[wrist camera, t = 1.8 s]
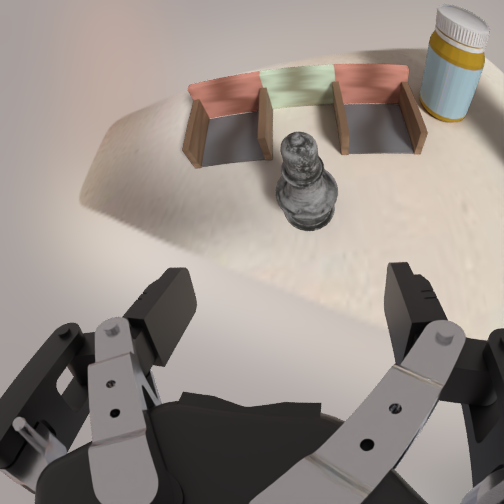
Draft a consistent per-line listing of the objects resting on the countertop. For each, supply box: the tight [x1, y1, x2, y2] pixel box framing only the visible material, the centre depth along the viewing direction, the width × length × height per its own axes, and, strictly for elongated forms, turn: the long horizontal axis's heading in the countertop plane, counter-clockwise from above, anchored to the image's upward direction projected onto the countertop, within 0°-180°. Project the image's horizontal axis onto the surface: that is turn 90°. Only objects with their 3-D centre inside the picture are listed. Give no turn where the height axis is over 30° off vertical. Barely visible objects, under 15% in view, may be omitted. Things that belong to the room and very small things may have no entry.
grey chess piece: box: [276, 132, 338, 231], centre depth 25 cm, size 6×6×12 cm
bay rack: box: [182, 64, 428, 168], centre depth 31 cm, size 27×10×6 cm, turn 88°
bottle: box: [420, 4, 490, 122], centre depth 24 cm, size 7×7×15 cm
